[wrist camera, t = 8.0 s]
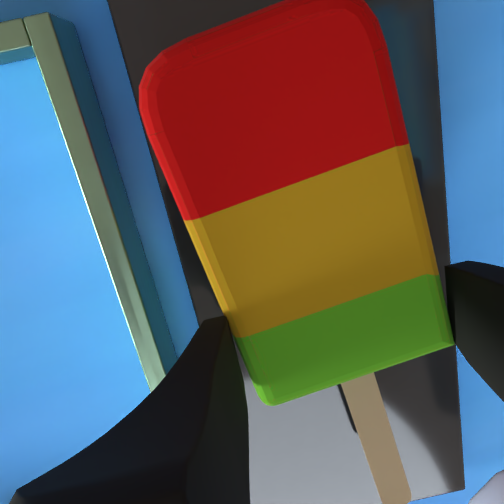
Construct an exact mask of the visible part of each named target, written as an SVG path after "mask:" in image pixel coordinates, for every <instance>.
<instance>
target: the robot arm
mask: <svg viewBox="0 0 504 504" xmlns="http://www.w3.org/2000/svg"><path fill="white" fill-rule="evenodd" d="M444 267H445V281H446V295H447V310H448V315H449V319H450V324H451V329H452V334H453V339H454V342H455V344H456V345H457V347H458V348H459V350H460V351H461V353H462V354H463V356H464V357H465V358H466V360H467V361H468V363H469V364H470V365H471V366H472V367H473V369H474V370H475V371H476V372H477V373H478V374H479V375H480V376H481V378H482V379H483V380H484V381H485V382H486V383H487V384H488V385H489V386H490V387H491V389H492V390H493V391H494V392H495V393H496V394H497V395H498V396H499V397H500V398H501V399H502V401H503V402H504V267H500V266H495V265H491V264H486V263H481V262H474V261H465V262H460V263H456V264H451V265H447V266H444ZM9 504H251V503H250V478H249V421H248V407H247V400H246V393H245V386H244V380H243V376H242V372H241V368H240V364H239V360H238V356H237V352H236V349H235V345H234V341H233V337H232V333H231V330H230V327H229V323H228V320H227V317H226V316H219V317H215V318H210V319H206V320H204V321H203V322H202V324H201V325H200V327H199V328H198V330H197V331H196V333H195V335H194V336H193V338H192V339H191V341H190V343H189V344H188V346H187V347H186V349H185V350H184V352H183V353H182V355H181V356H180V357H179V359H178V360H177V362H176V363H175V364H174V366H173V367H172V368H171V369H170V371H169V372H168V373H167V375H166V376H165V377H164V378H163V380H162V381H161V382H160V383H159V384H158V386H157V387H156V388H155V389H154V390H153V391H152V392H151V393H150V394H149V395H148V396H147V397H146V398H145V399H144V400H143V401H142V402H141V403H140V404H139V405H138V406H137V407H136V408H135V409H134V410H133V411H132V412H130V413H129V414H128V415H127V416H126V417H125V418H123V419H122V420H121V421H120V422H119V423H118V424H116V425H115V426H114V427H113V428H112V429H110V430H109V431H108V432H107V433H105V434H104V435H103V436H101V437H100V438H99V439H97V440H96V441H95V442H93V443H92V444H91V445H89V446H88V447H86V448H85V449H83V450H82V451H80V452H79V453H77V454H76V455H74V456H73V457H71V458H70V459H68V460H67V461H65V462H64V463H62V464H60V465H59V466H57V467H55V468H53V469H52V470H50V471H48V472H47V473H45V474H43V475H41V476H40V477H38V478H36V479H34V480H33V481H31V482H29V483H28V484H26V485H24V486H22V487H20V488H18V489H17V490H16V492H15V494H14V495H13V497H12V499H11V501H10V503H9ZM468 504H504V470H502V471H500V472H498V473H496V474H495V475H494V476H493V477H492V478H491V479H490V480H489V481H488V482H487V483H486V484H485V485H484V486H483V487H482V488H481V489H480V490H479V491H478V492H477V493H476V494H475V495H474V496H473V497H472V498H471V499H470V501H469V503H468Z"/></svg>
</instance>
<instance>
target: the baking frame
mask: <svg viewBox="0 0 504 504" xmlns="http://www.w3.org/2000/svg"><path fill="white" fill-rule="evenodd" d="M34 57H36V59H37V62H38V65H39V68H40V71H41V74H42V77H43V79H44V82H45V85H46V88H47V91H48V94H49V97H50V100H51V103H52V106H53V109H54V112H55V114H56V117H57V120H58V123H59V126H60V129H61V132H62V135H63V138H64V141H65V144H66V147H67V149H68V152H69V155H70V158H71V161H72V164H73V167H74V170H75V173H76V176H77V179H78V182H79V185H80V187H81V190H82V193H83V196H84V199H85V202H86V205H87V208H88V211H89V214H90V217H91V220H92V222H93V225H94V228H95V231H96V234H97V237H98V240H99V243H100V246H101V249H102V252H103V255H104V257H105V260H106V263H107V266H108V269H109V272H110V275H111V278H112V281H113V284H114V287H115V290H116V293H117V295H118V298H119V301H120V304H121V307H122V310H123V313H124V316H125V319H126V322H127V325H128V328H129V330H130V333H131V336H132V339H133V342H134V345H135V348H136V351H137V354H138V357H139V360H140V363H141V365H142V368H143V371H144V374H145V377H146V380H147V383H148V386H149V389H150V392H152V391H153V390H154V389H155V388H156V387H157V386H158V384H159V383H160V382H161V381H162V380H163V378H164V377H165V376H166V375H167V373H168V372H169V371H170V369H171V368H172V367H173V366H174V364H175V363H176V362H177V360H178V359H177V356H176V353H175V350H174V347H173V343H172V340H171V337H170V334H169V330H168V327H167V324H166V321H165V317H164V314H163V311H162V308H161V305H160V301H159V298H158V295H157V292H156V288H155V285H154V282H153V279H152V275H151V272H150V269H149V266H148V262H147V259H146V256H145V253H144V250H143V246H142V243H141V240H140V237H139V233H138V230H137V227H136V224H135V220H134V217H133V214H132V211H131V208H130V204H129V201H128V198H127V195H126V191H125V188H124V185H123V182H122V178H121V175H120V172H119V169H118V165H117V162H116V159H115V156H114V153H113V149H112V146H111V143H110V140H109V136H108V133H107V130H106V127H105V123H104V120H103V117H102V114H101V111H100V107H99V104H98V101H97V98H96V94H95V91H94V88H93V85H92V81H91V78H90V75H89V72H88V69H87V65H86V62H85V59H84V56H83V52H82V49H81V46H80V43H79V39H78V36H77V33H76V30H75V26H74V24H73V23H72V22H69V21H67V20H65V19H62V18H60V17H58V16H56V15H53V14H51V13H49V12H44V13H39V14H35V15H30V16H26V17H24V18H23V19H22V18H17V19H12V20H8V21H3V22H0V65H3V64H7V63H12V62H16V61H21V60H25V59H30V58H34Z"/></svg>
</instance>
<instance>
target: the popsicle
mask: <svg viewBox="0 0 504 504" xmlns="http://www.w3.org/2000/svg"><path fill="white" fill-rule="evenodd" d="M139 110H140V113H141V116H142V120H143V123H144V126H145V129H146V133H147V136H148V138H149V140H150V143H151V145H152V147H153V150H154V152H155V155H156V157H157V159H158V162H159V164H160V166H161V169H162V171H163V173H164V176H165V178H166V180H167V183H168V185H169V187H170V190H171V192H172V194H173V197H174V199H175V202H176V204H177V206H178V209H179V211H180V213H181V216H182V218H183V220H184V223H185V225H186V227H187V230H188V232H189V234H190V237H191V239H192V241H193V244H194V246H195V249H196V251H197V253H198V256H199V258H200V260H201V263H202V265H203V267H204V270H205V272H206V274H207V277H208V279H209V281H210V284H211V286H212V288H213V291H214V293H215V295H216V298H217V300H218V303H219V305H220V307H221V310H222V312H223V314H224V316H226V317H227V320H228V323H229V327H230V330H231V333H232V335H233V338H234V340H235V342H236V345H237V347H238V350H239V352H240V354H241V357H242V359H243V361H244V364H245V366H246V368H247V371H248V373H249V375H250V378H251V380H252V382H253V385H254V387H255V389H256V392H257V394H258V396H259V398H260V399H261V401H262V402H263V403H265V404H266V405H268V406H275V405H279V404H282V403H285V402H288V401H291V400H294V399H297V398H300V397H303V396H306V395H308V394H311V393H314V392H317V391H320V390H323V389H326V388H329V387H332V386H335V385H338V384H341V385H342V388H343V391H344V394H345V397H346V400H347V403H348V406H349V409H350V412H351V415H352V417H353V420H354V423H355V426H356V429H357V432H358V435H359V438H360V441H361V444H362V447H363V449H364V452H365V455H366V458H367V461H368V464H369V467H370V470H371V473H372V476H373V479H374V481H375V484H376V487H377V490H378V493H379V496H380V499H381V501H382V503H383V504H407V503H408V502H409V501H410V500H411V497H412V496H411V491H410V488H409V485H408V481H407V478H406V475H405V472H404V468H403V465H402V462H401V459H400V455H399V452H398V449H397V446H396V443H395V439H394V436H393V433H392V430H391V426H390V423H389V420H388V417H387V413H386V410H385V407H384V404H383V401H382V397H381V394H380V391H379V388H378V384H377V381H376V378H375V375H374V372H376V371H379V370H382V369H385V368H388V367H391V366H394V365H396V364H399V363H402V362H405V361H408V360H411V359H414V358H417V357H420V356H423V355H426V354H429V353H432V352H435V351H438V350H440V349H443V348H446V347H449V346H452V345H455V342H454V339H453V334H452V329H451V324H450V319H449V315H448V310H447V306H446V302H445V297H444V293H443V289H442V284H441V280H440V275H439V271H438V267H437V262H436V258H435V253H434V249H433V245H432V240H431V236H430V232H429V227H428V223H427V218H426V214H425V210H424V205H423V201H422V197H421V192H420V188H419V183H418V179H417V175H416V170H415V166H414V162H413V157H412V153H411V148H410V144H409V140H408V135H407V131H406V127H405V122H404V118H403V114H402V109H401V105H400V100H399V96H398V92H397V87H396V83H395V79H394V74H393V70H392V65H391V61H390V57H389V52H388V48H387V44H386V41H385V38H384V35H383V32H382V29H381V27H380V24H379V21H378V18H377V17H376V16H375V14H374V13H373V11H372V10H371V9H370V7H369V6H368V4H367V3H366V2H365V0H283V1H281V2H278V3H276V4H273V5H270V6H268V7H265V8H263V9H260V10H257V11H255V12H252V13H250V14H247V15H245V16H242V17H239V18H237V19H234V20H232V21H229V22H226V23H224V24H221V25H219V26H216V27H213V28H211V29H208V30H206V31H203V32H201V33H198V34H195V35H193V36H190V37H188V38H185V39H183V40H181V41H180V42H178V43H176V44H174V45H172V46H170V47H168V48H167V49H165V50H163V51H161V52H160V53H159V54H158V55H157V57H156V58H155V59H154V60H153V61H152V62H151V63H150V64H149V65H148V66H147V67H146V69H145V72H144V75H143V77H142V80H141V82H140V85H139Z"/></svg>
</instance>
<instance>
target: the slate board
mask: <svg viewBox="0 0 504 504" xmlns="http://www.w3.org/2000/svg"><path fill="white" fill-rule="evenodd" d="M281 1H283V0H107V2H108V6H109V9H110V13H111V16H112V20H113V23H114V27H115V30H116V34H117V38H118V41H119V45H120V48H121V52H122V55H123V59H124V62H125V66H126V69H127V73H128V77H129V80H130V84H131V87H132V91H133V94H134V98H135V101H136V105H137V108H138V112H139V115H140V119H141V123H142V126H143V130H144V133H145V137H146V140H147V144H148V147H149V151H150V154H151V158H152V162H153V165H154V169H155V172H156V176H157V179H158V183H159V186H160V190H161V193H162V197H163V200H164V204H165V208H166V211H167V215H168V218H169V222H170V225H171V229H172V232H173V236H174V239H175V243H176V247H177V250H178V254H179V257H180V261H181V264H182V268H183V271H184V275H185V278H186V282H187V286H188V289H189V293H190V296H191V300H192V303H193V307H194V310H195V314H196V317H197V321H198V324H199V327H200V325H201V324H202V322H203V321H204V320H206V319H210V318H215V317H219V316H224V314H223V312H222V310H221V307H220V305H219V303H218V300H217V298H216V295H215V293H214V291H213V288H212V286H211V284H210V281H209V279H208V277H207V274H206V272H205V270H204V267H203V265H202V263H201V260H200V258H199V256H198V253H197V251H196V249H195V246H194V244H193V241H192V239H191V237H190V234H189V232H188V230H187V227H186V225H185V223H184V220H183V218H182V216H181V213H180V211H179V209H178V206H177V204H176V202H175V199H174V197H173V194H172V192H171V190H170V187H169V185H168V183H167V180H166V178H165V176H164V173H163V171H162V169H161V166H160V164H159V162H158V159H157V157H156V155H155V152H154V150H153V147H152V145H151V143H150V140H149V138H148V136H147V133H146V129H145V126H144V123H143V120H142V116H141V113H140V110H139V85H140V82H141V80H142V77H143V75H144V72H145V69H146V67H147V66H148V65H149V64H150V63H151V62H152V61H153V60H154V59H155V58H156V57H157V55H158V54H159V53H160V52H161V51H163V50H165V49H167V48H168V47H170V46H172V45H174V44H176V43H178V42H180V41H181V40H183V39H185V38H188V37H190V36H193V35H195V34H198V33H201V32H203V31H206V30H208V29H211V28H213V27H216V26H219V25H221V24H224V23H226V22H229V21H232V20H234V19H237V18H239V17H242V16H245V15H247V14H250V13H252V12H255V11H257V10H260V9H263V8H265V7H268V6H270V5H273V4H276V3H278V2H281ZM365 2H366V3H367V4H368V6H369V7H370V9H371V10H372V11H373V13H374V14H375V16H376V17H377V18H378V21H379V24H380V27H381V29H382V32H383V35H384V38H385V41H386V44H387V48H388V52H389V57H390V61H391V65H392V70H393V74H394V79H395V83H396V87H397V92H398V96H399V100H400V105H401V109H402V114H403V118H404V122H405V127H406V131H407V135H408V140H409V144H410V148H411V153H412V157H413V162H414V166H415V170H416V175H417V179H418V183H419V188H420V192H421V197H422V201H423V205H424V210H425V214H426V218H427V223H428V227H429V232H430V236H431V240H432V245H433V249H434V253H435V258H436V262H437V267H438V271H439V275H440V280H441V284H442V289H443V293H444V297H445V302H446V306H447V295H446V281H445V267H444V266H447V265H450V249H449V234H448V218H447V203H446V188H445V172H444V157H443V142H442V126H441V111H440V95H439V80H438V65H437V49H436V34H435V19H434V3H433V0H365ZM232 337H233V335H232ZM233 341H234V345H235V349H236V352H237V356H238V360H239V364H240V368H241V372H242V376H243V380H244V386H245V393H246V400H247V407H248V421H249V478H250V503H251V504H383V503H382V501H381V499H380V496H379V493H378V490H377V487H376V484H375V481H374V479H373V476H372V473H371V470H370V467H369V464H368V461H367V458H366V455H365V452H364V449H363V447H362V444H361V441H360V438H359V435H358V432H357V429H356V426H355V423H354V420H353V417H352V415H351V412H350V409H349V406H348V403H347V400H346V397H345V394H344V391H343V388H342V385H341V384H338V385H335V386H332V387H329V388H326V389H323V390H320V391H317V392H314V393H311V394H308V395H306V396H303V397H300V398H297V399H294V400H291V401H288V402H285V403H282V404H279V405H275V406H268V405H266V404H265V403H263V402H262V401H261V399H260V398H259V396H258V394H257V392H256V389H255V387H254V385H253V382H252V380H251V378H250V375H249V373H248V371H247V368H246V366H245V364H244V361H243V359H242V357H241V354H240V352H239V350H238V347H237V345H236V342H235V340H234V338H233ZM374 375H375V378H376V381H377V384H378V388H379V391H380V394H381V397H382V401H383V404H384V407H385V410H386V413H387V417H388V420H389V423H390V426H391V430H392V433H393V436H394V439H395V443H396V446H397V449H398V452H399V455H400V459H401V462H402V465H403V468H404V472H405V475H406V478H407V481H408V485H409V488H410V491H411V496H412V497H411V500H410V501H409V502H411V501H415V500H420V499H424V498H428V497H433V496H437V495H442V494H446V493H451V492H455V491H459V490H464V489H465V480H464V464H463V449H462V434H461V418H460V403H459V388H458V372H457V357H456V344H455V345H452V346H449V347H446V348H443V349H440V350H438V351H435V352H432V353H429V354H426V355H423V356H420V357H417V358H414V359H411V360H408V361H405V362H402V363H399V364H396V365H394V366H391V367H388V368H385V369H382V370H379V371H376V372H374Z"/></svg>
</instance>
